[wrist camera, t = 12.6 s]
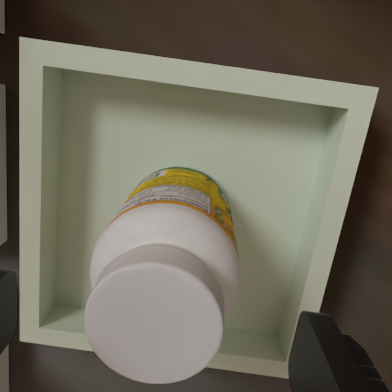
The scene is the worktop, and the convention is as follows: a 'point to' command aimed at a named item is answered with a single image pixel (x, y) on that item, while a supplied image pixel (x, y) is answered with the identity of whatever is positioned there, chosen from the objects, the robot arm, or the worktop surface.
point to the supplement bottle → (164, 278)
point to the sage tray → (186, 156)
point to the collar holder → (3, 200)
